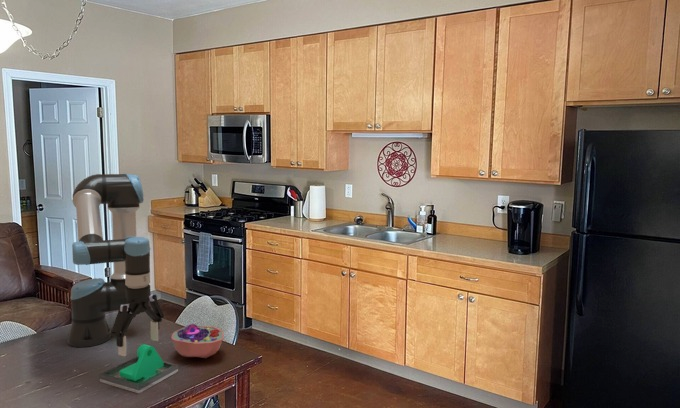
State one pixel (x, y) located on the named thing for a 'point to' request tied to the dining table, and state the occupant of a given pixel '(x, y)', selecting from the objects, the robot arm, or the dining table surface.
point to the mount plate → (139, 385)
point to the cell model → (197, 341)
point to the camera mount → (143, 364)
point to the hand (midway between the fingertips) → (139, 347)
